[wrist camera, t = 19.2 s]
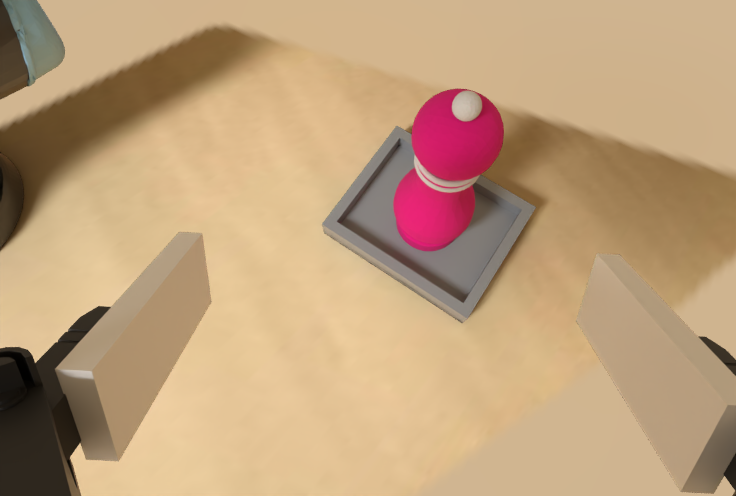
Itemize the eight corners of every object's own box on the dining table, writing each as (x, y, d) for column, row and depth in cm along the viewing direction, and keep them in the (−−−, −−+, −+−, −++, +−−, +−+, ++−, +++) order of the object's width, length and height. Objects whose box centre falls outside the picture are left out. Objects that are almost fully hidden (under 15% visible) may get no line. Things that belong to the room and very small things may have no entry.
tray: (324, 233, 47) (321, 224, 44) (395, 138, 50) (396, 125, 48) (462, 323, 44) (467, 318, 42) (527, 216, 47) (536, 207, 45)
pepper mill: (412, 176, 48) (442, 28, 29) (476, 209, 46) (552, 77, 27) (377, 234, 46) (385, 117, 27) (443, 270, 45) (500, 174, 25)
